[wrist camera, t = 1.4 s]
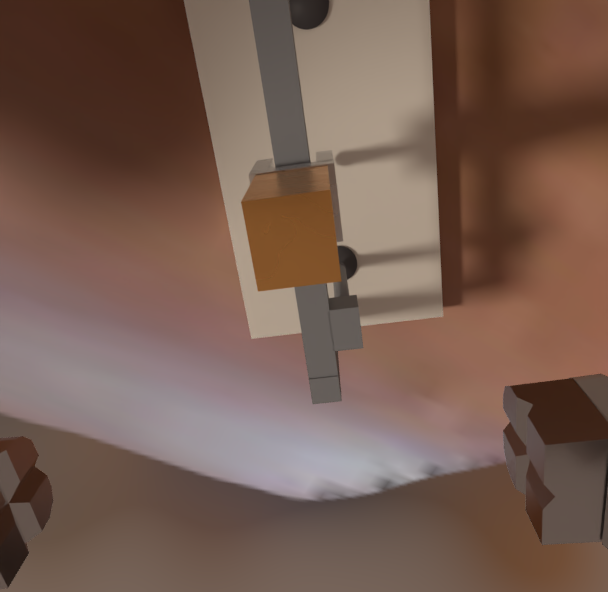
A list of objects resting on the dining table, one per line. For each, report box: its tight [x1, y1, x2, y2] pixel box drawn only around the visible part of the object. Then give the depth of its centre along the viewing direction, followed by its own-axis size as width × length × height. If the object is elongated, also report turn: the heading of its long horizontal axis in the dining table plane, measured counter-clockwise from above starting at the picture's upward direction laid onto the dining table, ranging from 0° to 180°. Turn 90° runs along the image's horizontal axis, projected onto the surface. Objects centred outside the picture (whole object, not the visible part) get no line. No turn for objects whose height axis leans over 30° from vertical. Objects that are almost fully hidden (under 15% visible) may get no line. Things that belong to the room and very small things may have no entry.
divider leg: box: [241, 150, 343, 292], centre depth 27 cm, size 4×4×16 cm
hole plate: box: [184, 0, 443, 404], centre depth 30 cm, size 14×28×12 cm, turn 8°
